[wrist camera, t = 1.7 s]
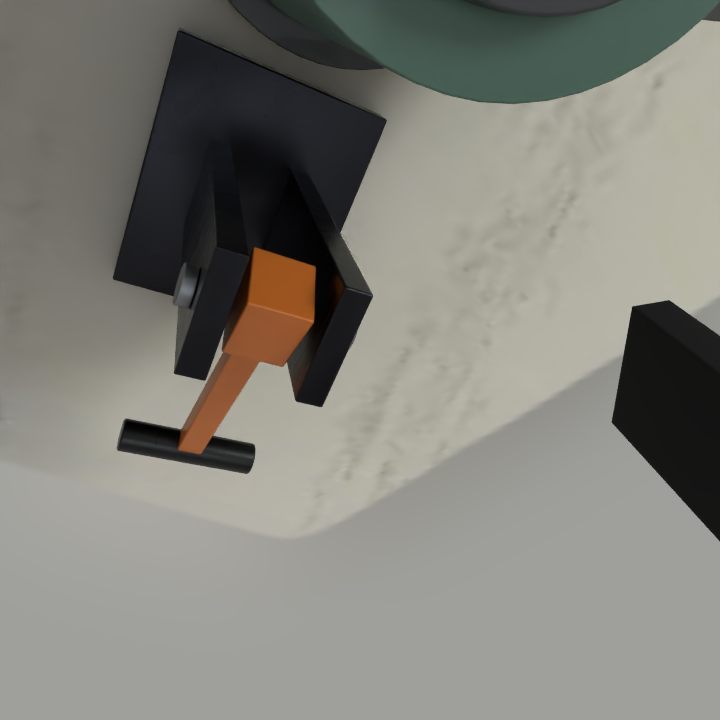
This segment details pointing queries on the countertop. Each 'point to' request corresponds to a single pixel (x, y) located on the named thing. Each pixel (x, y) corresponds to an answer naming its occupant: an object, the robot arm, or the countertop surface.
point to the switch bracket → (249, 202)
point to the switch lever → (237, 364)
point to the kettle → (482, 40)
